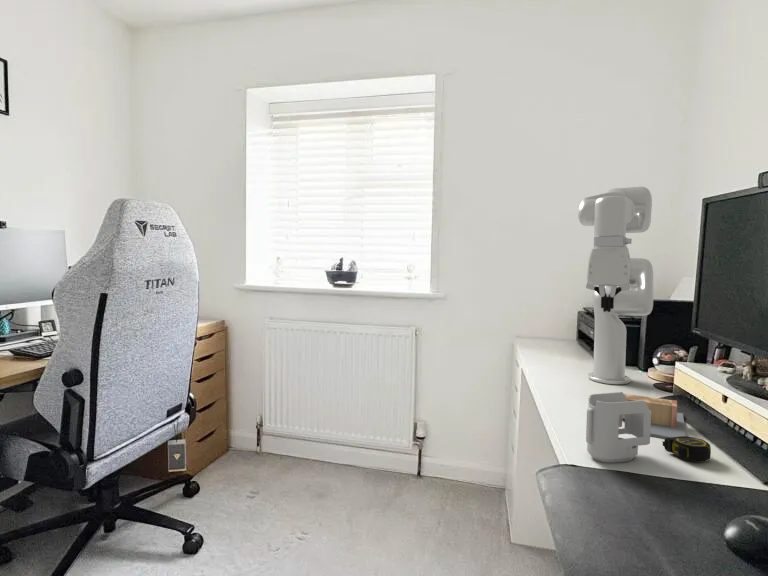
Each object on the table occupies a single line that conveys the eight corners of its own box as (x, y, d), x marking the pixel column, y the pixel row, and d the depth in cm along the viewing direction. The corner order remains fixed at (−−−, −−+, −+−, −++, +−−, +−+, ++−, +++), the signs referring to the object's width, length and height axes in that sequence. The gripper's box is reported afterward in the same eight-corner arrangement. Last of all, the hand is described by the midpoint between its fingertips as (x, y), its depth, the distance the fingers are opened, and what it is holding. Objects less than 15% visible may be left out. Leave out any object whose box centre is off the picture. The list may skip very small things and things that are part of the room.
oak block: (621, 392, 115) (676, 400, 109) (620, 412, 115) (676, 421, 109) (619, 398, 111) (677, 406, 104) (619, 418, 111) (676, 427, 105)
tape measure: (689, 449, 94) (690, 432, 94) (719, 464, 87) (720, 446, 87) (661, 452, 93) (662, 434, 93) (689, 467, 86) (690, 448, 86)
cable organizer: (652, 460, 89) (655, 399, 88) (597, 467, 86) (599, 404, 85) (626, 446, 95) (628, 389, 95) (574, 452, 93) (576, 393, 92)
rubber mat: (629, 407, 121) (630, 405, 121) (682, 415, 114) (683, 413, 114) (624, 431, 104) (624, 428, 104) (685, 442, 98) (685, 439, 97)
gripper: (641, 242, 118) (639, 311, 119) (580, 243, 125) (579, 307, 127) (641, 242, 111) (638, 315, 113) (577, 243, 119) (575, 311, 121)
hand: (607, 311), depth 120 cm, fingers closed
